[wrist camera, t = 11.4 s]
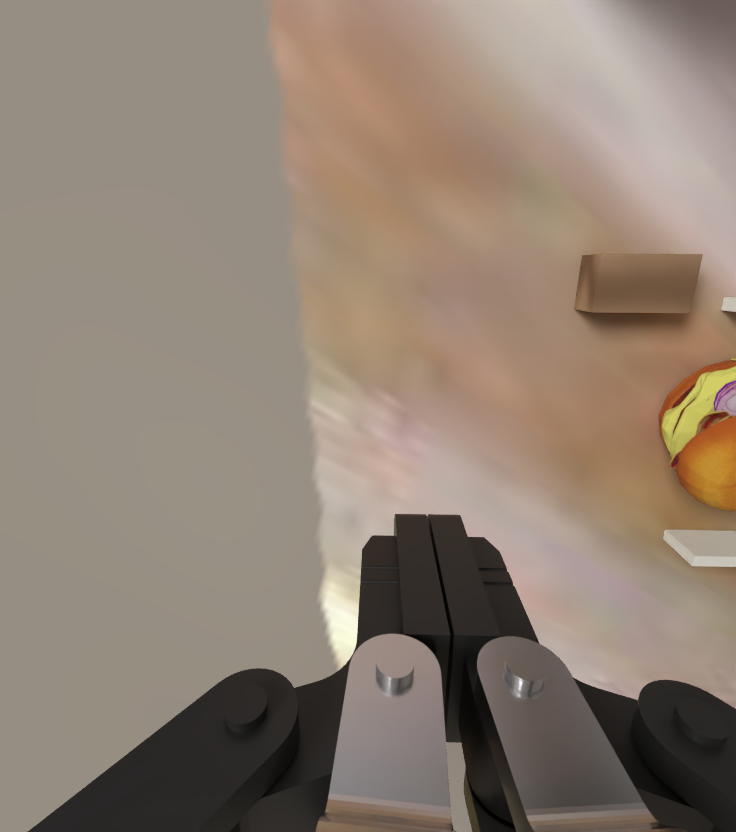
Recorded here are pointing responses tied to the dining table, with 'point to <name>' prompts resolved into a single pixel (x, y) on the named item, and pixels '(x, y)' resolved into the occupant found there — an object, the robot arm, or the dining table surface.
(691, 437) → the cheeseburger
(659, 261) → the cardboard carton
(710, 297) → the dining table surface
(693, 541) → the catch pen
